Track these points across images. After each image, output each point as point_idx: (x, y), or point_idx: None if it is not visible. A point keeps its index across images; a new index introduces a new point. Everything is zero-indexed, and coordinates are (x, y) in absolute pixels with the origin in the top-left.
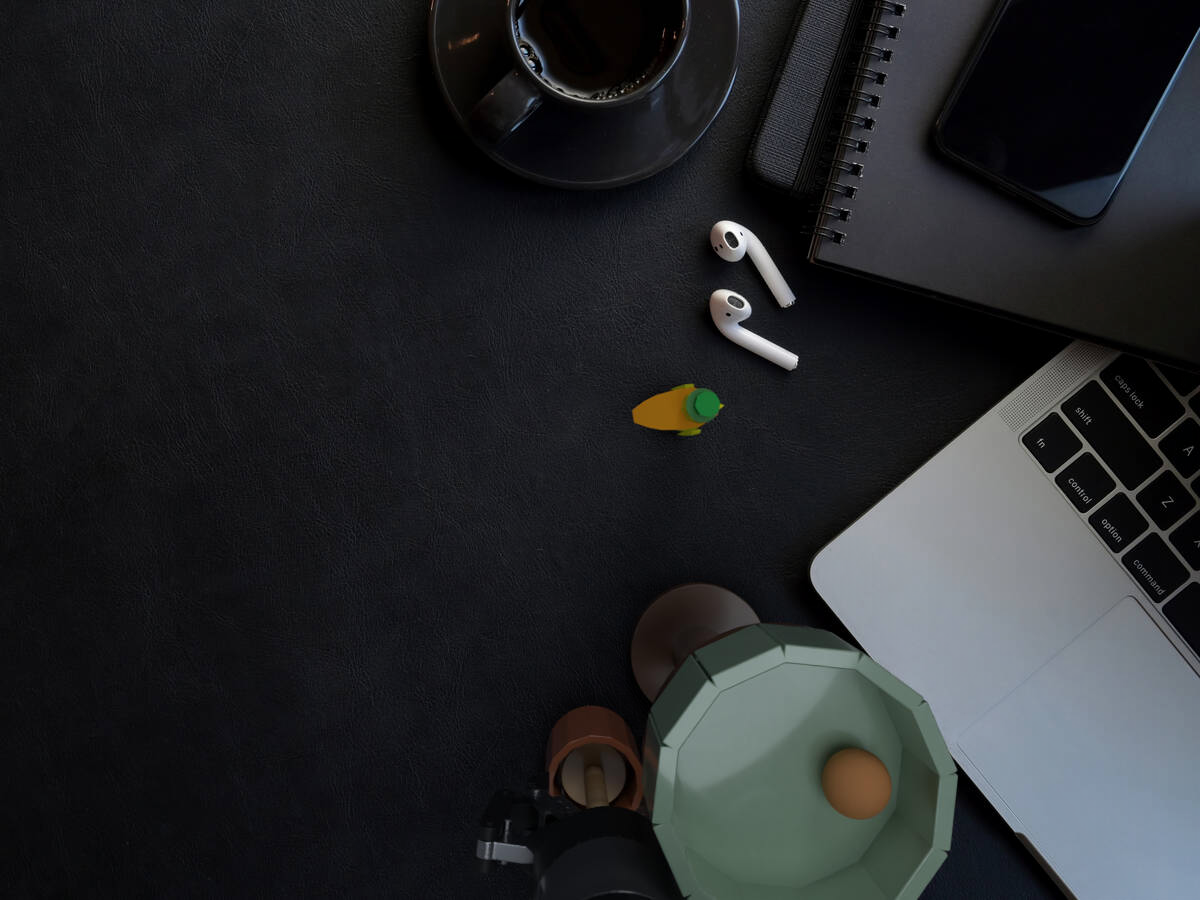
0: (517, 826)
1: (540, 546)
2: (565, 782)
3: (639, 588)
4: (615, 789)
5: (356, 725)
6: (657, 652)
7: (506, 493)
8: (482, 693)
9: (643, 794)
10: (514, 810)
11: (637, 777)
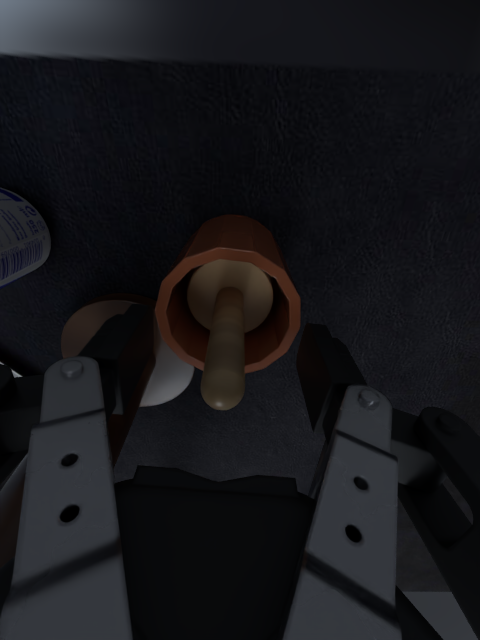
0: (408, 449)
1: (272, 419)
2: (268, 290)
3: (192, 392)
4: (200, 279)
5: (473, 293)
6: (169, 360)
7: (295, 446)
8: (339, 319)
9: (151, 333)
10: (405, 476)
11: (167, 328)
